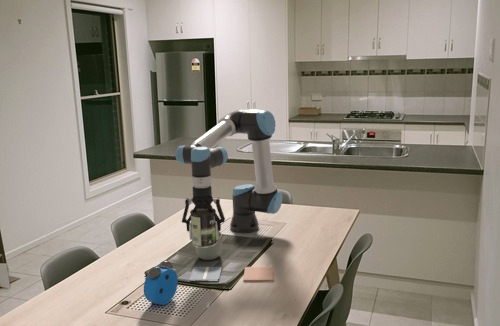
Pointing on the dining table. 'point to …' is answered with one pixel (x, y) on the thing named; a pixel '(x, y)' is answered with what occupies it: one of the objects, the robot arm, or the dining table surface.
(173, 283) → the alarm clock
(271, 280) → the pad
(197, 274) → the pad
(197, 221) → the coffee can
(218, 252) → the planter
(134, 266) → the dining table surface
